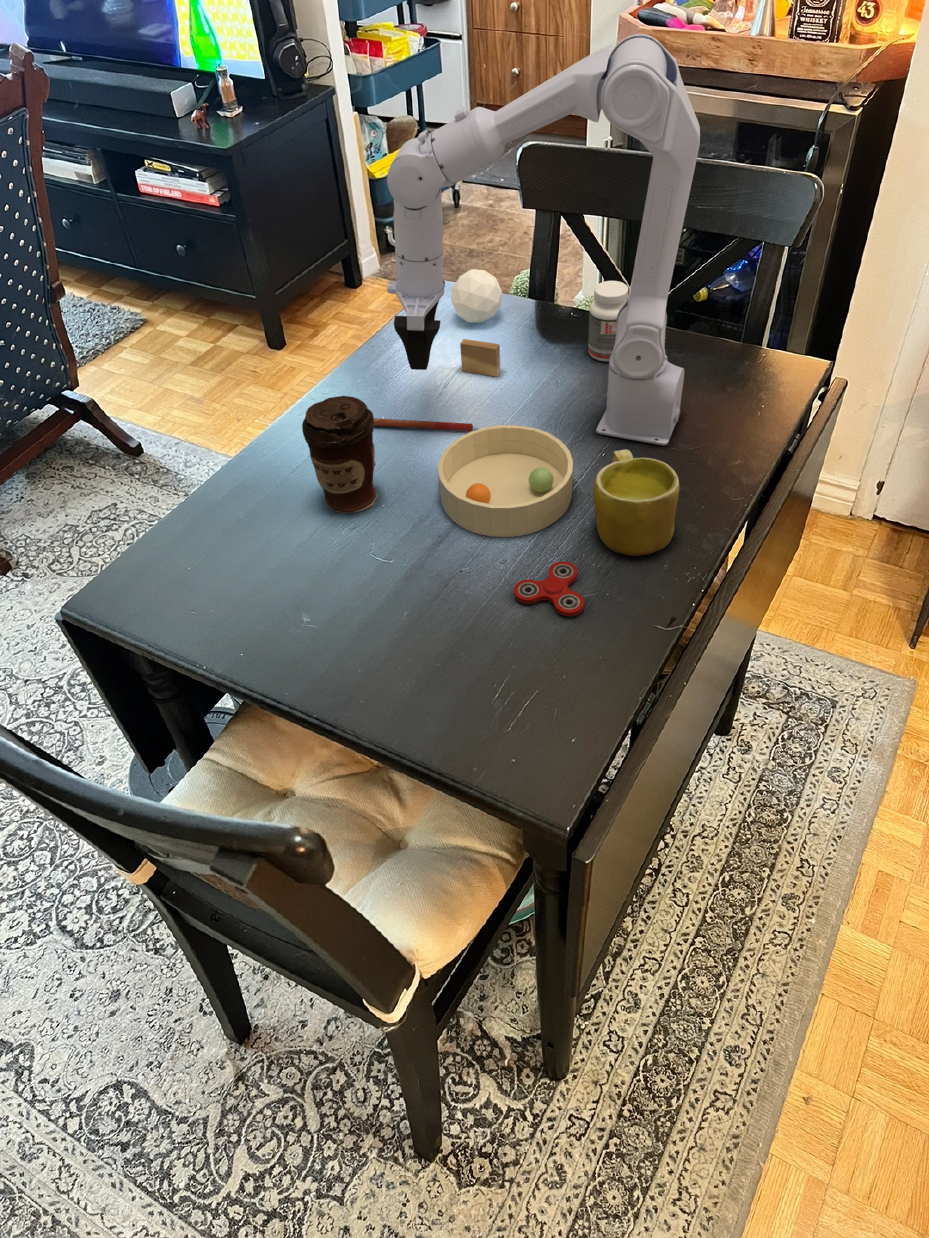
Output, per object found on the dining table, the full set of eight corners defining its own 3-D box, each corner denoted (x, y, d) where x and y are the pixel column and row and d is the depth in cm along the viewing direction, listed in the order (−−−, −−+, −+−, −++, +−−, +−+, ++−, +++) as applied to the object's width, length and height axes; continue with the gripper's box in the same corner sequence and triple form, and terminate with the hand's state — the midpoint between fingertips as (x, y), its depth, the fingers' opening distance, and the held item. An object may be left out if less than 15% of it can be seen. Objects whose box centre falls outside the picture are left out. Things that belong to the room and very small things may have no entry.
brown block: (465, 366, 133) (463, 338, 130) (500, 372, 132) (499, 344, 129) (461, 371, 133) (459, 343, 129) (497, 377, 131) (496, 349, 128)
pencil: (473, 428, 122) (473, 422, 122) (472, 432, 122) (472, 426, 121) (338, 420, 126) (337, 415, 125) (336, 425, 125) (335, 419, 124)
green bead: (556, 484, 113) (556, 465, 111) (548, 499, 111) (548, 479, 109) (533, 479, 114) (533, 460, 111) (525, 494, 112) (525, 475, 110)
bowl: (588, 467, 116) (589, 437, 112) (547, 549, 105) (547, 520, 102) (469, 444, 120) (467, 415, 117) (420, 521, 110) (416, 492, 107)
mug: (696, 554, 101) (675, 477, 95) (606, 576, 104) (581, 502, 98) (687, 501, 110) (667, 428, 105) (604, 523, 113) (582, 453, 108)
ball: (489, 338, 144) (501, 314, 136) (441, 322, 142) (450, 297, 135) (500, 296, 145) (513, 269, 137) (452, 279, 144) (462, 252, 136)
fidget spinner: (509, 601, 100) (509, 592, 99) (535, 558, 105) (535, 550, 104) (577, 621, 97) (577, 613, 96) (601, 577, 102) (602, 569, 101)
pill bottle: (629, 362, 132) (634, 297, 124) (589, 364, 132) (592, 299, 125) (624, 341, 135) (629, 277, 128) (586, 343, 136) (589, 279, 129)
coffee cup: (374, 525, 110) (358, 436, 101) (309, 519, 112) (287, 431, 102) (392, 480, 116) (379, 392, 107) (330, 475, 118) (312, 388, 108)
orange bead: (494, 500, 111) (493, 480, 109) (485, 515, 109) (484, 496, 107) (471, 495, 112) (470, 476, 110) (462, 510, 110) (461, 491, 108)
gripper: (391, 223, 114) (395, 322, 124) (379, 279, 104) (384, 382, 114) (447, 225, 114) (447, 324, 124) (440, 281, 104) (441, 384, 114)
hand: (421, 352), depth 119 cm, fingers open, 7 cm apart
